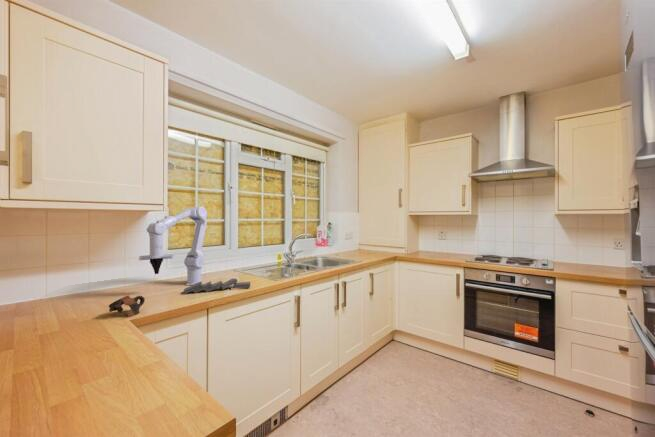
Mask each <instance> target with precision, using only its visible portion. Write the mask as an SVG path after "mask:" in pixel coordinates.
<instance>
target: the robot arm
mask: <svg viewBox="0 0 655 437" xmlns="http://www.w3.org/2000/svg"><path fill="white" fill-rule="evenodd" d="M207 216H208V211H207V209H206V208H205V207H204V206H189V207H187V208H185V209H184V210H181V211H180V212H178V213H176V214H175V215H173V216H171V215H165V216H164V217H163V218H162V219H157V220H156V222H151V223H150V224H148V226H147V228H146V231H147V233H148V237H149V254H148V255H140V256H138V261H148V260H149V264H151V267H152V268H153V271H154V275H158V274H159V273H160V268H161V266H162V263H163V261H164V259H165V260H168V259H171V260H172V259H174V254H173V253H172V254H170V253H169V254H164V234H165V232H166V231H167V230H169V229H170V228H173V227H175V226H176V225H177V222H179V221H181V220H184V219H186V218H188V217H189V219H191V220H192V221H193V222H195V229H194V234H193V235H194V236H193V240H192V243H191V249H190V251H189V252H187V254H186V257H185V258H184V261H183V262H184V265H185V266H186V269H187V270H186V271H187V274H186V275H187V282H186V284H185V285H186V286H192V285H194V284H196V283H198V282H200V281H201V282H202V283H203V279H202V268H203V266H204V265H205V259H204V258H205V255H204V254H203V252H202V249H203V245H204V240H205V235H206V229H207V224H208V219H207V218H208V217H207Z"/></svg>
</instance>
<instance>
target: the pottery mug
mask: <svg viewBox="0 0 655 437" xmlns="http://www.w3.org/2000/svg"><path fill="white" fill-rule="evenodd" d="M138 301H139V303H138ZM144 304H145V297H144V296H143V295H137V296H135V297H131V296H130V295H125V296H123V297H121V298H119V299H117V300H115V301H113V302H111V303H110V304H109V305H108V308H109V311H108V312H110V313H111V312H116V311H117V312H118V313H122V312H123V310H124V308H123V307H122V305H125V306H128V307H129V308H130V309H129V310H128V311H126V312H125V314H126V315H127V317H128V318H130V317H132V316H134V315H137V314H138V313H139V314H140V308H141V307H142V306H143V305H144Z"/></svg>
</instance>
